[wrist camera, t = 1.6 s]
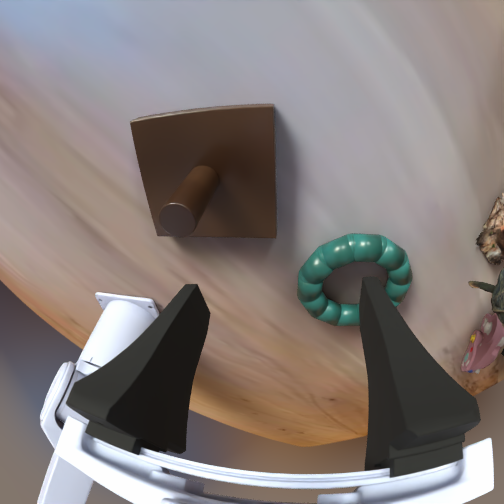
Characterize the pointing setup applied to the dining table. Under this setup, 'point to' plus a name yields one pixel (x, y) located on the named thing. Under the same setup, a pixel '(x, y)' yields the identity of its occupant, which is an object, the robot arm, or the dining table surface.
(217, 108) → the brown peg stand
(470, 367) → the video game controller
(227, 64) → the dining table surface
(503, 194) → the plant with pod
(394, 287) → the ring
